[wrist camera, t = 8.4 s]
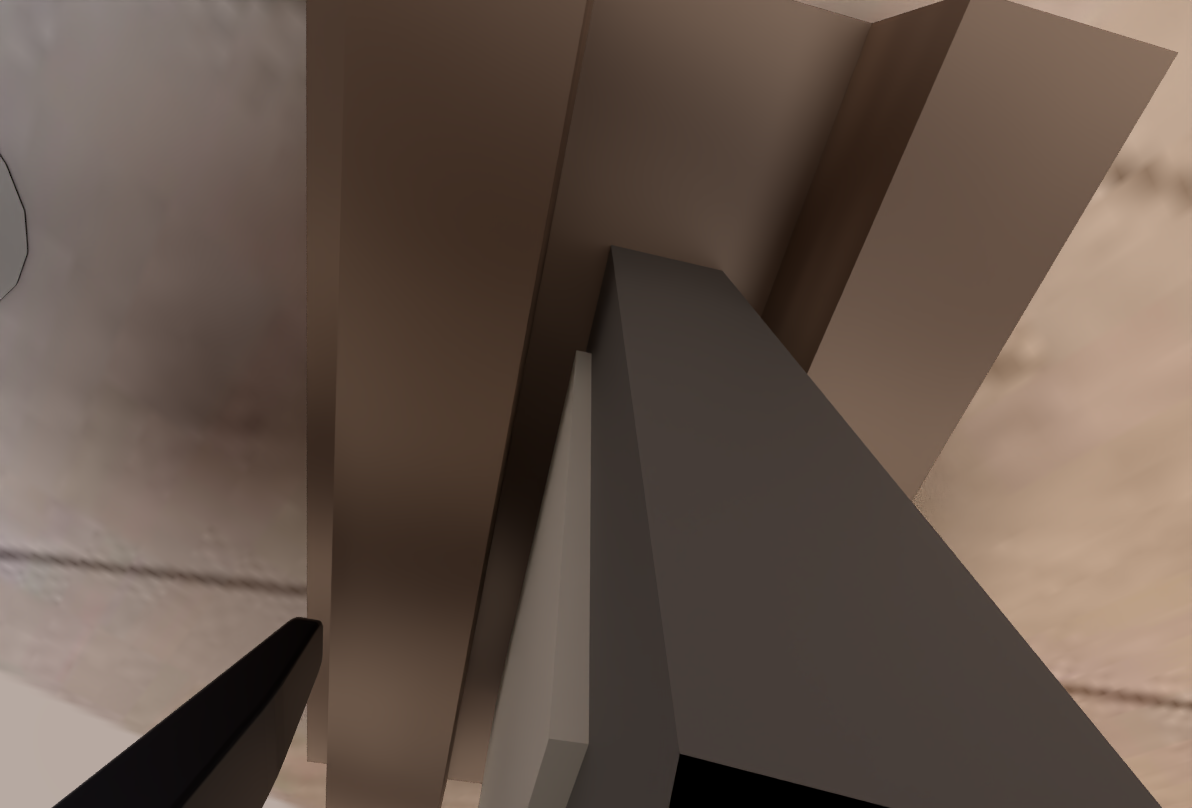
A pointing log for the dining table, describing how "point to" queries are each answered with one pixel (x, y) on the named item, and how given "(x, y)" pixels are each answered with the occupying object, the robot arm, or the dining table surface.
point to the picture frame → (756, 599)
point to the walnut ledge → (647, 224)
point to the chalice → (10, 233)
